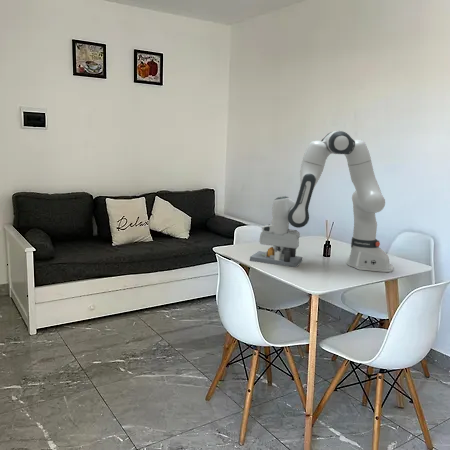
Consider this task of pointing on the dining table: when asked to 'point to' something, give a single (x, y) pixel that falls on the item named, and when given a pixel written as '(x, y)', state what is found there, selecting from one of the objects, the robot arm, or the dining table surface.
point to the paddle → (270, 251)
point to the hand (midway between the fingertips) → (278, 254)
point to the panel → (271, 260)
